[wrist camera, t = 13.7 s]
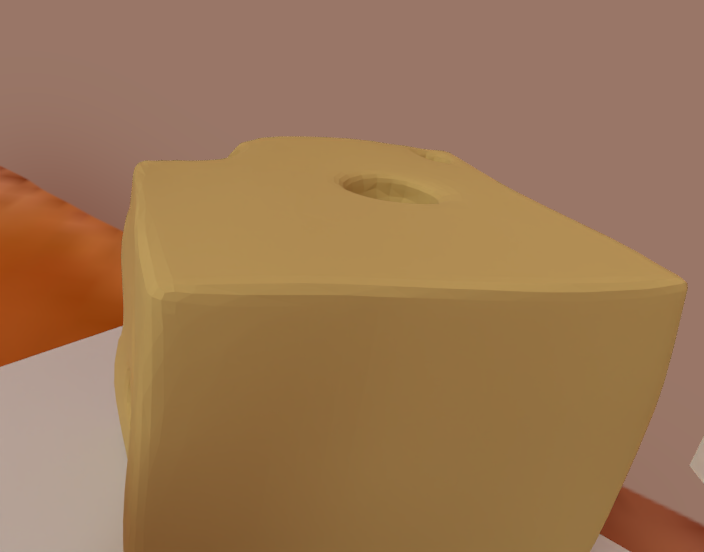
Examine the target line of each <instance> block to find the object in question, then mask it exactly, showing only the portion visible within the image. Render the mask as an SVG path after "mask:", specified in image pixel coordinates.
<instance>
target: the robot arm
mask: <svg viewBox="0 0 704 552" xmlns="http://www.w3.org/2000/svg"><path fill="white" fill-rule="evenodd" d="M689 466H690V467H691V468H692V470H693V471H694V472H695V473H696V475H697V476H698V477H699V478H700V479H701V481H702V482H703V483H704V436H703V438H702V441H701V443H700V445H699V447H698V449H697V451H696V453H695V455H694V457H693V459H692V461H691V463H690V465H689Z"/></svg>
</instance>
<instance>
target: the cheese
mask: <svg viewBox="0 0 704 552" xmlns="http://www.w3.org/2000/svg"><path fill="white" fill-rule="evenodd" d="M121 264H122V285H123V305H124V311H123V328H122V333H121V336H120V338H119V340H118V345H117V351H116V357H115V364H114V387H115V396H116V403H117V409H118V415H119V421H120V425H121V430H122V435H123V440H124V445H125V450H126V454H127V459H128V461H127V471H126V481H125V492H124V512H123V552H590V551H591V549H592V547H593V545H594V544H595V542H596V540H597V538H598V536H599V534H600V532H601V530H602V528H603V526H604V524H605V522H606V520H607V517H608V515H609V513H610V511H611V509H612V507H613V504H614V502H615V500H616V498H617V496H618V494H619V491H620V489H621V487H622V485H623V483H624V481H625V478H626V476H627V474H628V472H629V469H630V467H631V465H632V462H633V460H634V458H635V456H636V454H637V451H638V449H639V447H640V444H641V442H642V439H643V437H644V434H645V432H646V430H647V427H648V425H649V422H650V420H651V418H652V415H653V413H654V410H655V407H656V405H657V402H658V399H659V396H660V393H661V389H662V387H663V384H664V381H665V377H666V373H667V370H668V366H669V362H670V359H671V355H672V351H673V348H674V344H675V339H676V335H677V331H678V326H679V322H680V318H681V313H682V310H683V305H684V301H685V297H686V293H687V288H688V287H687V283H686V282H685V281H684V280H683V279H682V278H681V277H679V276H678V275H676V274H674V273H672V272H671V271H669V270H667V269H665V268H663V267H662V266H660V265H658V264H657V263H655V262H653V261H651V260H650V259H648V258H646V257H645V256H643V255H641V254H640V253H638V252H636V251H634V250H632V249H630V248H629V247H627V246H625V245H623V244H621V243H619V242H617V241H615V240H614V239H612V238H610V237H608V236H606V235H604V234H602V233H600V232H597V231H595V230H593V229H591V228H589V227H587V226H585V225H583V224H581V223H579V222H577V221H574V220H572V219H570V218H568V217H566V216H564V215H562V214H560V213H558V212H556V211H554V210H552V209H550V208H548V207H546V206H543V205H542V204H540V203H538V202H536V201H534V200H532V199H530V198H528V197H526V196H524V195H522V194H520V193H518V192H516V191H514V190H512V189H510V188H508V187H506V186H505V185H503V184H501V183H499V182H498V181H496V180H494V179H493V178H490V177H489V176H487V175H486V174H484V173H482V172H481V171H479V170H477V169H476V168H474V167H472V166H471V165H469V164H467V163H466V162H464V161H462V160H461V159H459V158H458V157H456V156H454V155H452V154H451V153H448V152H445V151H439V150H425V149H419V148H414V147H408V146H401V145H393V144H386V143H380V142H374V141H366V140H357V139H345V138H328V137H268V138H258V139H255V140H251V141H247V142H243V143H241V144H240V145H239V146H238V147H237V148H236V149H235V150H234V151H233V152H232V153H231V154H230V155H229V157H228V158H224V159H218V160H204V161H203V160H202V161H182V160H172V161H163V160H161V161H143V162H140V163H138V164H137V166H136V167H135V169H134V173H133V182H132V192H131V201H130V209H129V211H128V214H127V216H126V221H125V225H124V231H123V238H122V250H121Z"/></svg>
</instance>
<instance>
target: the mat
mask: <svg viewBox="0 0 704 552" xmlns="http://www.w3.org/2000/svg"><path fill="white" fill-rule="evenodd" d="M122 328H123V326H121V327H118V328H115V329H112V330H109V331H106V332H103V333H100V334H97V335H94V336H91V337H88V338H85V339H82V340H79V341H76V342H73V343H70V344H67V345H64V346H61V347H58V348H55V349H52V350H49V351H46V352H43V353H41V354H38V355H35V356H32V357H29V358H26V359H23V360H20V361H17V362H14V363H11V364H8V365H5V366H2V367H0V552H123V512H124V492H125V481H126V471H127V461H128V459H127V454H126V450H125V445H124V440H123V435H122V430H121V425H120V421H119V415H118V409H117V403H116V396H115V387H114V364H115V357H116V351H117V345H118V340H119V338H120V336H121V333H122ZM590 552H630V551H628V550H627V549H625V548H623V547H621V546H620V545H618V544H616V543H614V542H613V541H611V540H609V539H608V538H606V537H604V536H602V535H601V534H599V536H598V538H597V540H596V542H595V544H594V545H593V547H592V549H591V551H590Z"/></svg>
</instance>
